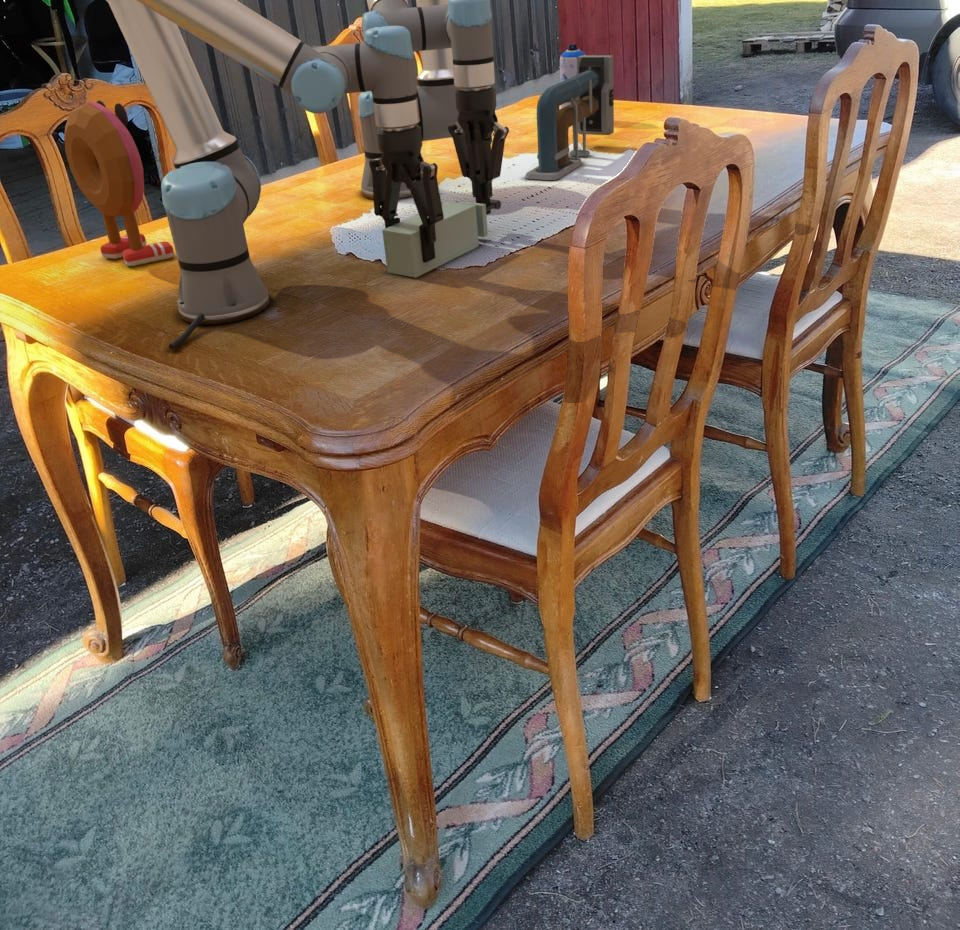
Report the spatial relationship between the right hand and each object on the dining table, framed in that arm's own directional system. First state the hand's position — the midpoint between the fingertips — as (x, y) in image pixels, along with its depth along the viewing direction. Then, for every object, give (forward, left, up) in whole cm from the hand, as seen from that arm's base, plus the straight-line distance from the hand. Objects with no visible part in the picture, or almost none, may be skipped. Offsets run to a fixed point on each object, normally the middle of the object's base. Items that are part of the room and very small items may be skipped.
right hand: (483, 214), depth 190 cm
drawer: (+6, -7, -3) cm, 9 cm away
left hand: (+15, -17, -2) cm, 22 cm away
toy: (-17, -69, -4) cm, 71 cm away
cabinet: (+11, -12, -4) cm, 17 cm away
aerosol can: (-93, +48, -4) cm, 105 cm away
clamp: (-47, +32, -4) cm, 57 cm away
